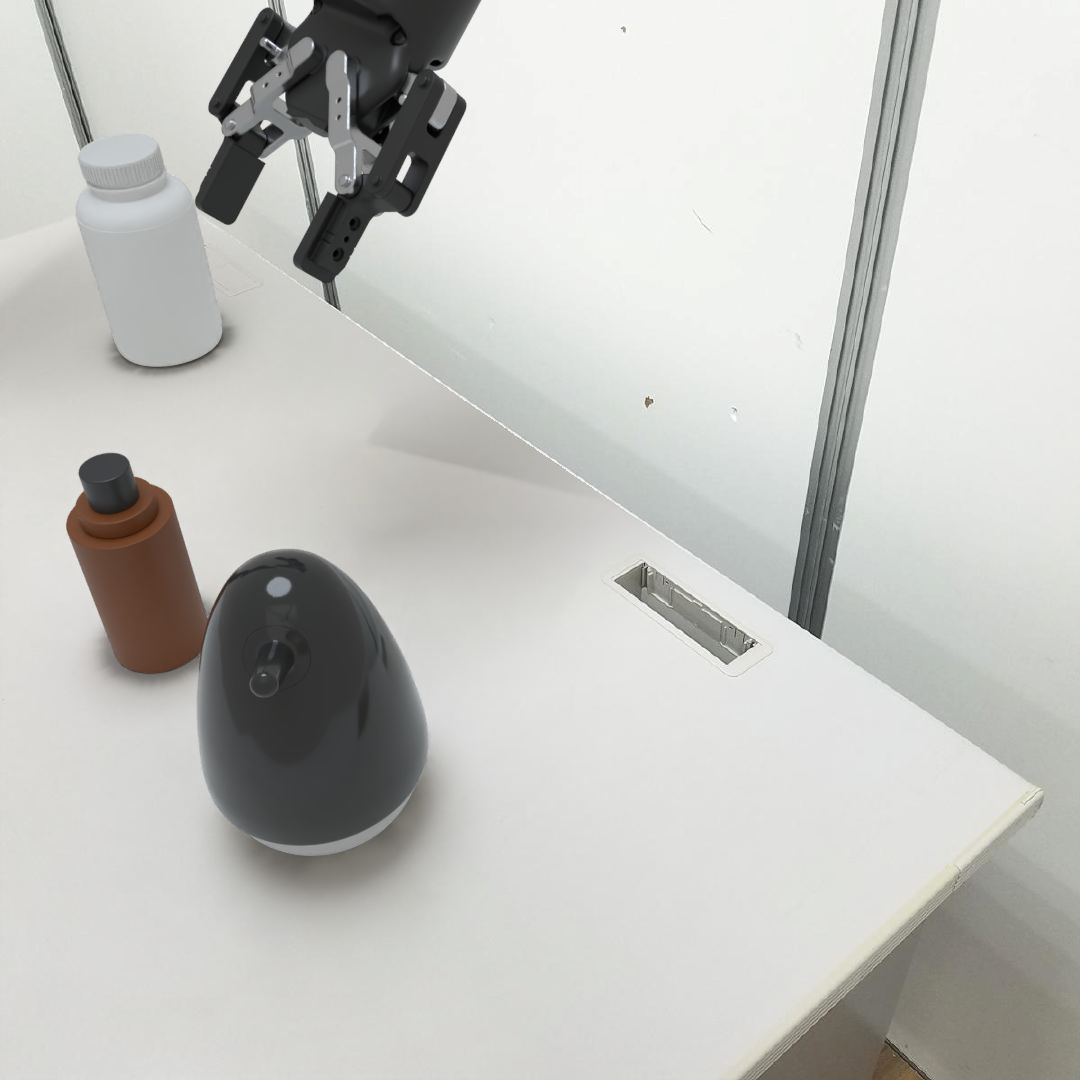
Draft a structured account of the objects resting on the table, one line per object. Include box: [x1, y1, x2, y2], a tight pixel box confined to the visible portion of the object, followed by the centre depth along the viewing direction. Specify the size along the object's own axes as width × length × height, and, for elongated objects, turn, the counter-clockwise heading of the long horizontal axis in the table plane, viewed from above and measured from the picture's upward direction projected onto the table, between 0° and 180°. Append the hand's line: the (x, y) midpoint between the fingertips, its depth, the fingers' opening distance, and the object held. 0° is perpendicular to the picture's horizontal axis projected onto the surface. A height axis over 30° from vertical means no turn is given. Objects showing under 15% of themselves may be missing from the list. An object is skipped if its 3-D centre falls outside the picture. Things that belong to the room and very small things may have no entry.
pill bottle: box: [75, 133, 223, 368], centre depth 81 cm, size 8×8×15 cm
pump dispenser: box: [196, 548, 430, 857], centre depth 50 cm, size 10×10×15 cm
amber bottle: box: [65, 452, 209, 674], centre depth 59 cm, size 5×5×12 cm
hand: (259, 244), depth 55 cm, fingers open, 8 cm apart
